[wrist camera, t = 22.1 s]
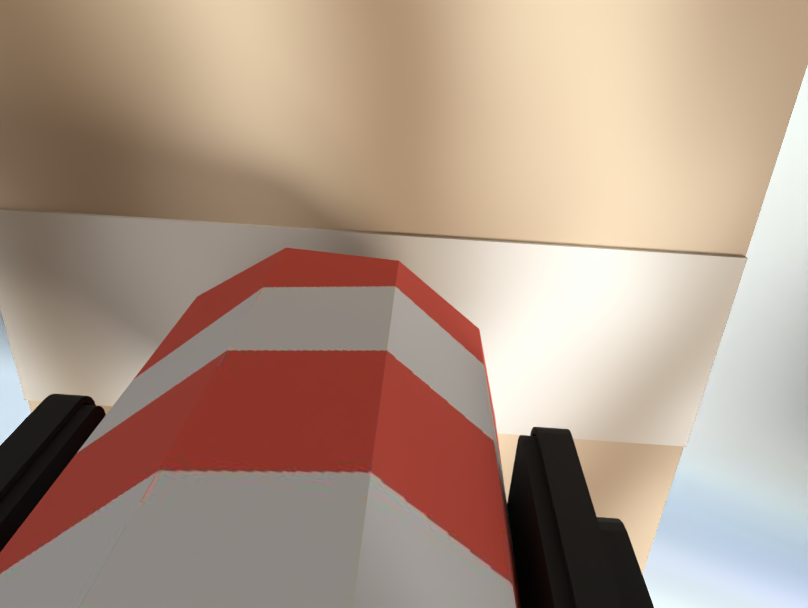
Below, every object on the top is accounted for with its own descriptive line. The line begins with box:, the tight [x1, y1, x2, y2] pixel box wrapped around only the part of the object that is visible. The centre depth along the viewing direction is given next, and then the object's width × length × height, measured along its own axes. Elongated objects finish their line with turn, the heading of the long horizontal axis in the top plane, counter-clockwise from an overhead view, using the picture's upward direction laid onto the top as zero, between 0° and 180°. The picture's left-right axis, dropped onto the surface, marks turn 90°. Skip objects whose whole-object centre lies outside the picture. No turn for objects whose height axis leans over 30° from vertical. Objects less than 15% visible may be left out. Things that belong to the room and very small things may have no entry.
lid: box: [0, 0, 808, 574], centre depth 15 cm, size 16×18×1 cm
